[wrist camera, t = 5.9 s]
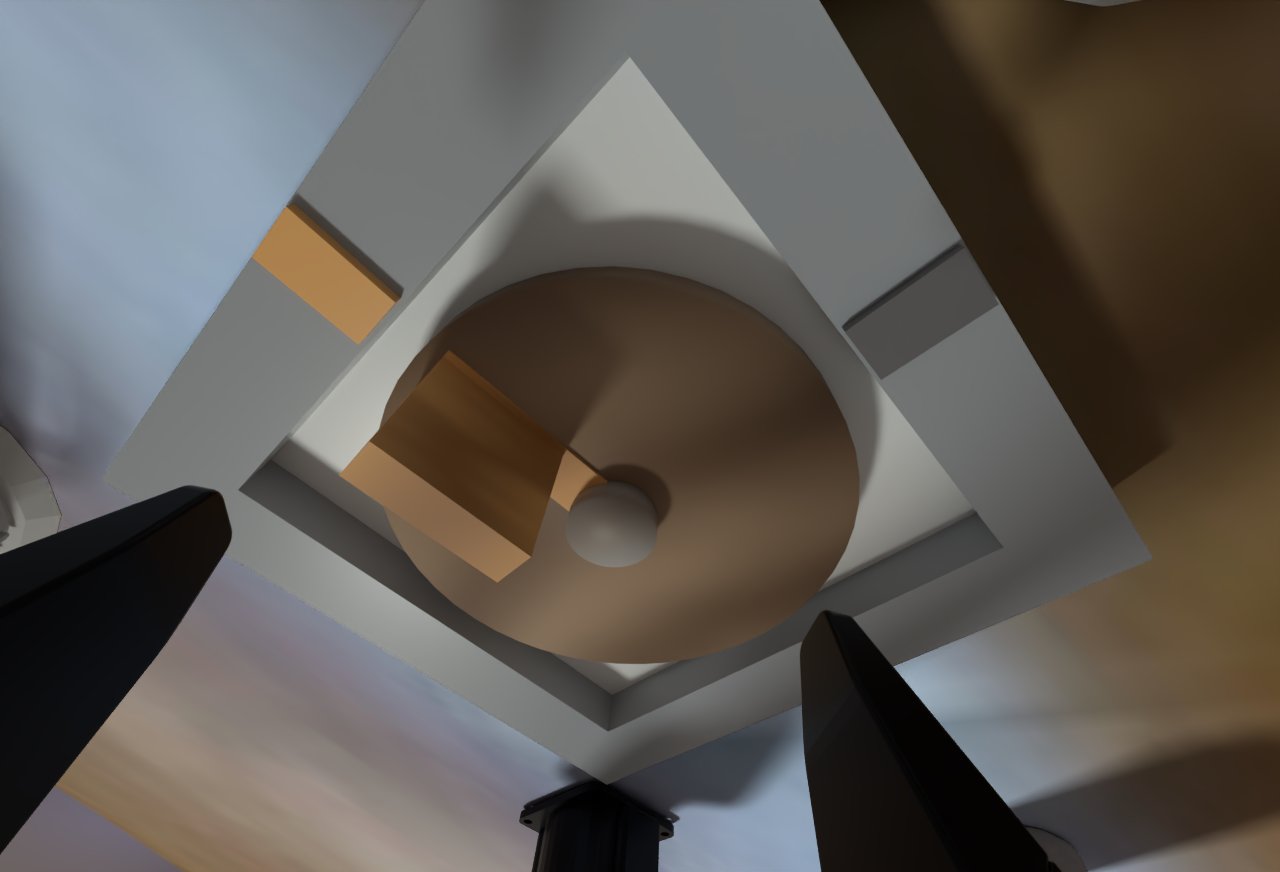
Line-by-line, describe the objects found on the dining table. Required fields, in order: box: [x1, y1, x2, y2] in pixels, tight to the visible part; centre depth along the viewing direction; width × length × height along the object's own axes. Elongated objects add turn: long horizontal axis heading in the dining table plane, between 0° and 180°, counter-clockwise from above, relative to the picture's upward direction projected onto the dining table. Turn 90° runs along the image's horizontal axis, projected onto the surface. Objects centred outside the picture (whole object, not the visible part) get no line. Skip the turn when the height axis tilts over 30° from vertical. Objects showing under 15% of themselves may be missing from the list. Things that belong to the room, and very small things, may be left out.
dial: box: [339, 266, 860, 664], centre depth 15 cm, size 14×14×5 cm
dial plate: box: [101, 0, 1154, 785], centre depth 17 cm, size 22×22×3 cm
